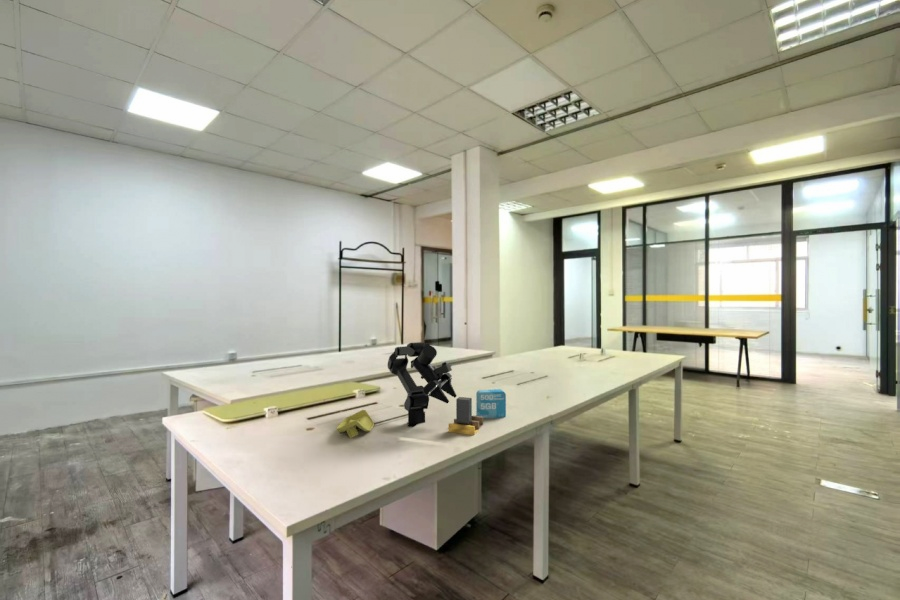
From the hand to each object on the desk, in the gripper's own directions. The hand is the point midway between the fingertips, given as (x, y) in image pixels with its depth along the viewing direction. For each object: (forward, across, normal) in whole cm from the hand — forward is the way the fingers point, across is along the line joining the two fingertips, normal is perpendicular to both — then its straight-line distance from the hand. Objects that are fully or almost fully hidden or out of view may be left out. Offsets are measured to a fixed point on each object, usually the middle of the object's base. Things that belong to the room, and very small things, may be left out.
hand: (452, 399), depth 146 cm
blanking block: (+11, 0, +4) cm, 12 cm away
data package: (+16, +21, +1) cm, 27 cm away
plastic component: (-16, -13, +34) cm, 40 cm away
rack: (+12, +3, +5) cm, 13 cm away
